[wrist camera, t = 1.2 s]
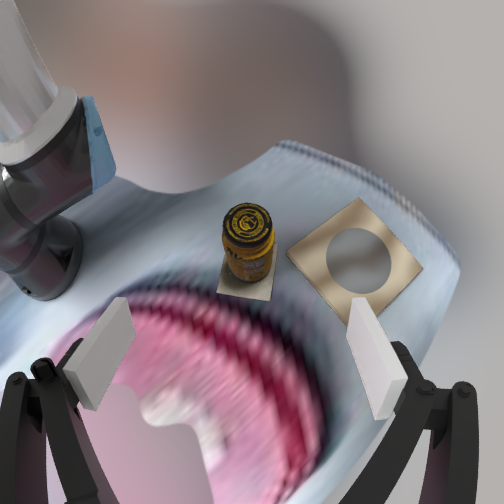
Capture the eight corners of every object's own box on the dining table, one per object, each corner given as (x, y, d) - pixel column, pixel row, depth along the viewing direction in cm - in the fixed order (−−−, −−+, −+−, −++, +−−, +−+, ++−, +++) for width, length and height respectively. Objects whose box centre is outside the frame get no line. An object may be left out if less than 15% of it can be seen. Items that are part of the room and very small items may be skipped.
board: (285, 253, 43) (286, 250, 42) (356, 201, 46) (358, 196, 45) (353, 335, 38) (356, 334, 37) (419, 270, 41) (423, 267, 40)
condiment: (278, 244, 43) (283, 199, 32) (269, 301, 40) (273, 273, 29) (228, 237, 44) (218, 191, 33) (216, 293, 41) (200, 262, 30)
